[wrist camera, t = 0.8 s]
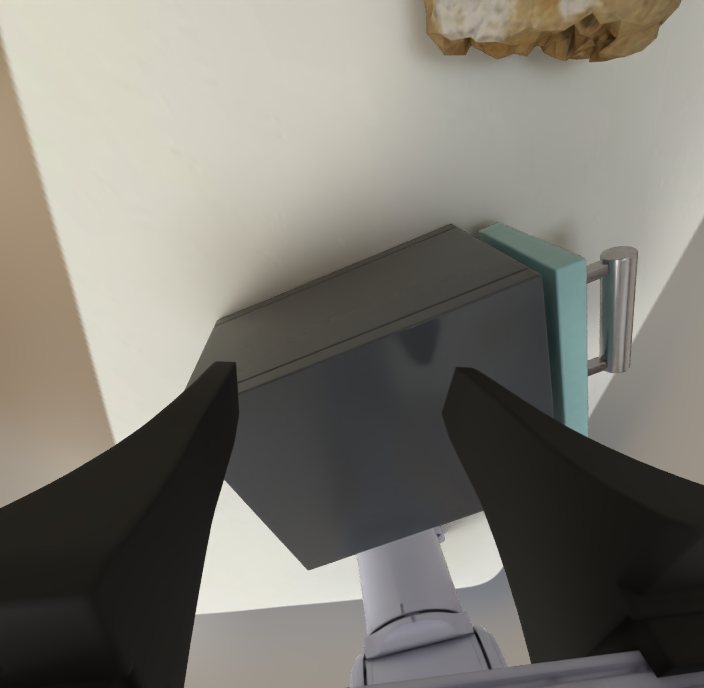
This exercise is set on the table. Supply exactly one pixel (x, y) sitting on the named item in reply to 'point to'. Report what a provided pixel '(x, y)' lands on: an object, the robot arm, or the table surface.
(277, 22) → the table surface
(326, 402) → the compartment
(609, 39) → the tan lumpy rounded piece
